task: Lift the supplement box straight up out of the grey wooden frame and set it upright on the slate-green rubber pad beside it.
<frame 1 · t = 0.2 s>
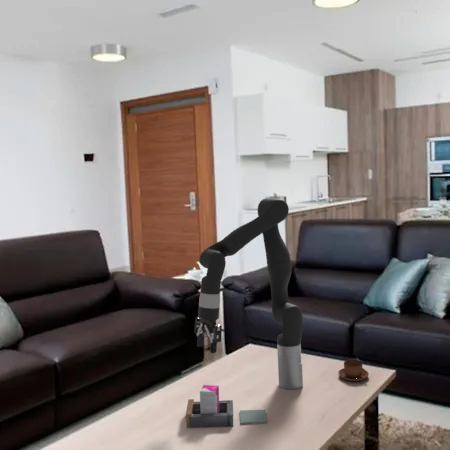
hand: (206, 349, 190), 23 cm above the table, tool pointing down, fingers open, 8 cm apart
cup and saucer: (353, 378, 215), on the table
rubber pad: (253, 417, 184), on the table
supplement box: (210, 419, 185), resting in grey wooden frame
grey wooden frame: (210, 419, 185), on the table
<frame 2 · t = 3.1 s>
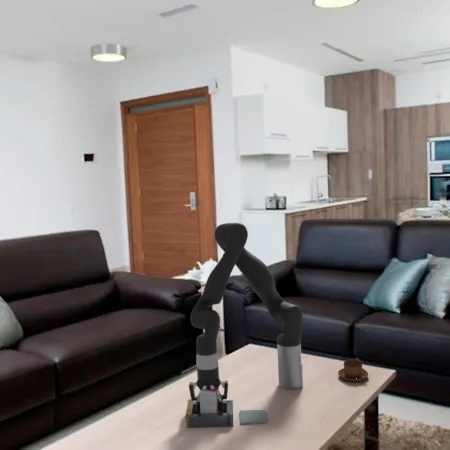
hand: (210, 410, 184), 3 cm above the table, tool pointing down, fingers closed on supplement box, 6 cm apart
supplement box: (210, 419, 185), resting in grey wooden frame, touching gripper
everything else where it was.
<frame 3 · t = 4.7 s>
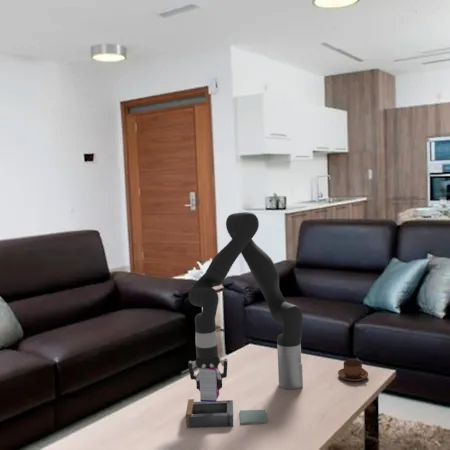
hand: (209, 389, 183), 11 cm above the table, tool pointing down, fingers closed on supplement box, 6 cm apart
supplement box: (210, 398, 184), point 8 cm above the table, touching gripper
everything else where it was.
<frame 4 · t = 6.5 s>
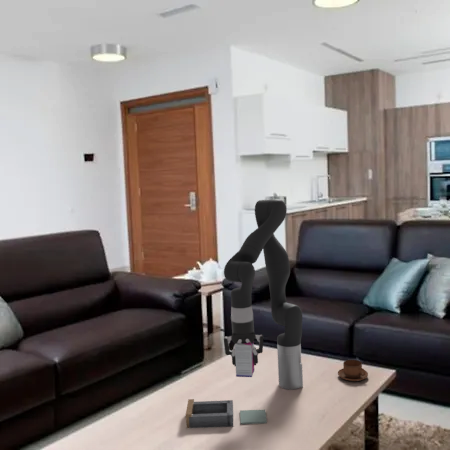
hand: (245, 364, 183), 19 cm above the table, tool pointing down, fingers closed on supplement box, 6 cm apart
supplement box: (245, 374, 183), point 16 cm above the table, touching gripper
everything else where it was.
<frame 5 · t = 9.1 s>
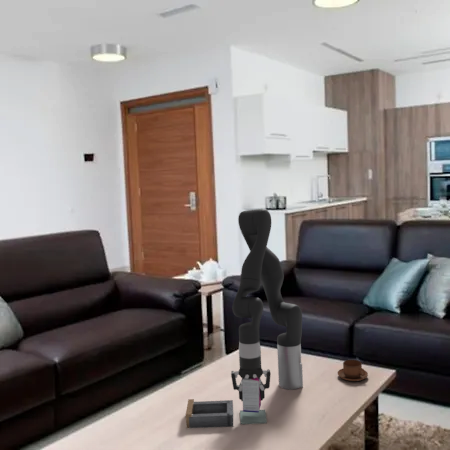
hand: (251, 399, 184), 6 cm above the table, tool pointing down, fingers closed on supplement box, 6 cm apart
supplement box: (252, 409, 184), point 3 cm above the table, touching gripper
everything else where it was.
when the fingers open (5 cm above the table, at t = 10.5 s): supplement box drops 1 cm, resting on rubber pad.
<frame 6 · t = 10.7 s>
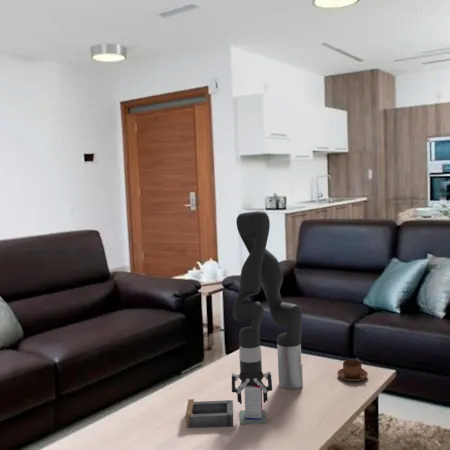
hand: (252, 402, 184), 6 cm above the table, tool pointing down, fingers open, 8 cm apart
supplement box: (254, 416, 184), resting on rubber pad
everything else where it was.
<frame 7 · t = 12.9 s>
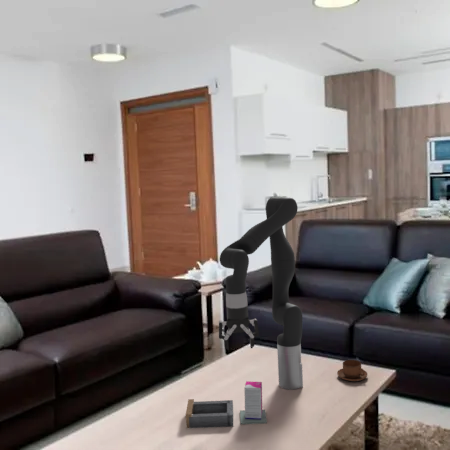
hand: (239, 348, 188), 23 cm above the table, tool pointing down, fingers open, 8 cm apart
nothing on the table moved.
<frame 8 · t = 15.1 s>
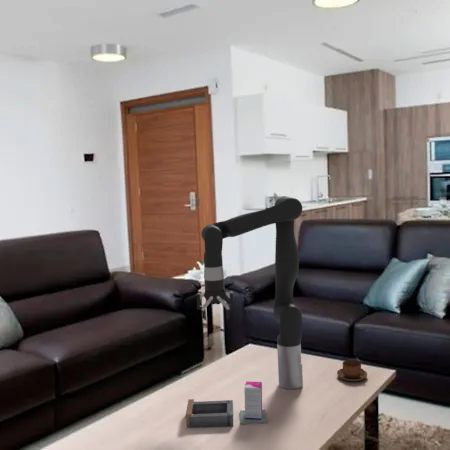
hand: (216, 319, 201), 30 cm above the table, tool pointing down, fingers open, 8 cm apart
nothing on the table moved.
at the end: supplement box 0.4 cm off-centre on the rubber pad, point 0.4 cm above the rubber pad's base; supplement box tilted 0°; the gripper is holding nothing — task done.
